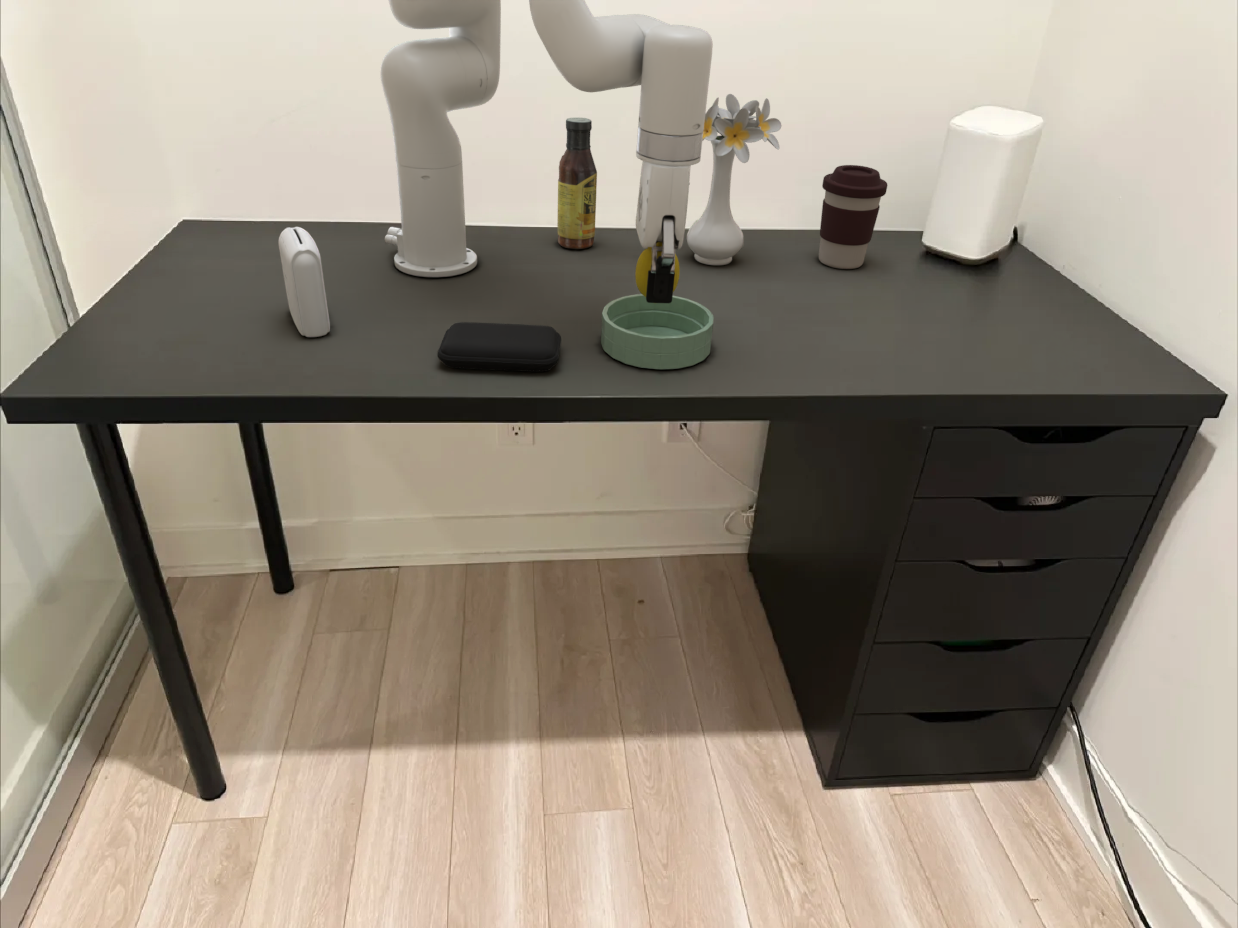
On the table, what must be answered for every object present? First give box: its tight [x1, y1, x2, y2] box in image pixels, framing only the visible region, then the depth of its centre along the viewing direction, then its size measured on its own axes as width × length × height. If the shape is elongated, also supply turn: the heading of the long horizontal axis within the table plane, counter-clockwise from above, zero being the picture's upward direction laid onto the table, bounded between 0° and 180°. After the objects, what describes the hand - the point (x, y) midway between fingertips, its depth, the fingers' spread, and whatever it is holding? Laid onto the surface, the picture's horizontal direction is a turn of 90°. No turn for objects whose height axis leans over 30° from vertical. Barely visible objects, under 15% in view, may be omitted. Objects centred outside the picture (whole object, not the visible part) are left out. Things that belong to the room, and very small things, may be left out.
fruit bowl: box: [600, 293, 715, 370], centre depth 115 cm, size 14×14×4 cm
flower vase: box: [685, 93, 783, 266], centre depth 138 cm, size 13×18×25 cm
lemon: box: [634, 242, 681, 297], centre depth 111 cm, size 6×6×8 cm
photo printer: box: [277, 226, 331, 338], centre depth 114 cm, size 10×4×12 cm, turn 26°
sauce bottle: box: [556, 117, 598, 250], centre depth 143 cm, size 6×6×20 cm
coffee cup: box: [818, 164, 888, 270], centre depth 143 cm, size 10×10×15 cm
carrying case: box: [436, 321, 562, 373], centre depth 111 cm, size 11×3×15 cm
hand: (655, 290), depth 112 cm, fingers closed on lemon, 5 cm apart
